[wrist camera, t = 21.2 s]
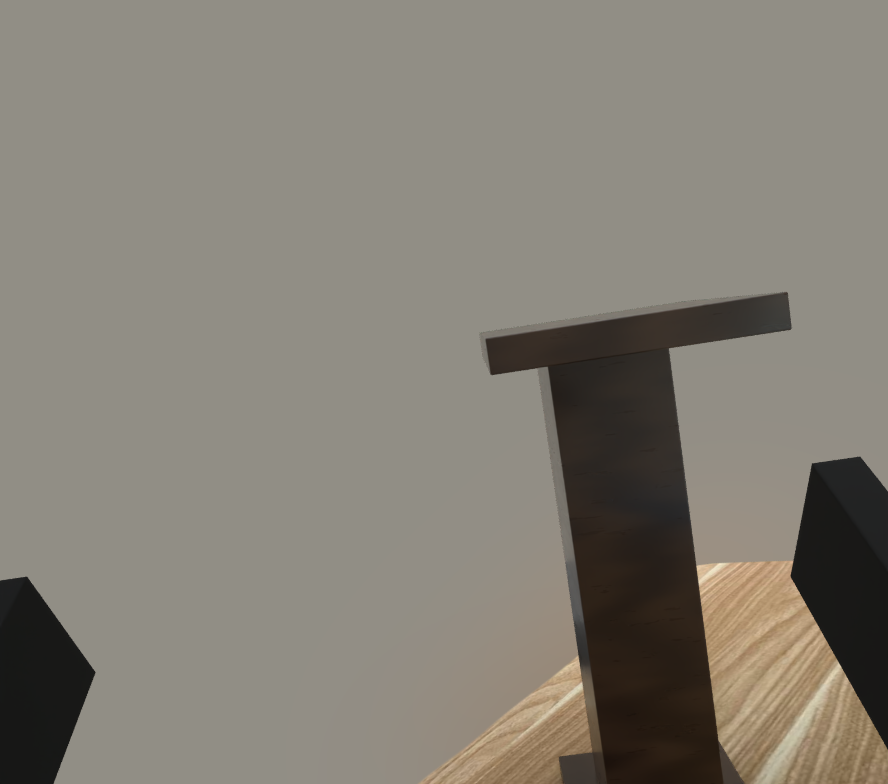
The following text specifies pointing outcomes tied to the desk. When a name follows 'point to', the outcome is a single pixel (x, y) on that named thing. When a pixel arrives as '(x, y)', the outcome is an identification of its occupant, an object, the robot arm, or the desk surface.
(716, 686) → the desk surface
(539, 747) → the desk surface
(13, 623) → the robot arm
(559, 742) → the desk surface
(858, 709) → the desk surface
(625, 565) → the stand
